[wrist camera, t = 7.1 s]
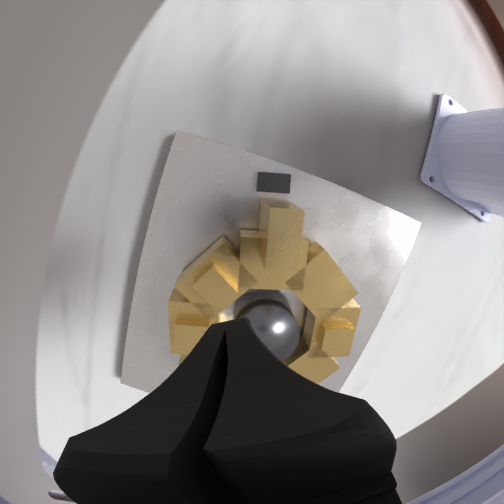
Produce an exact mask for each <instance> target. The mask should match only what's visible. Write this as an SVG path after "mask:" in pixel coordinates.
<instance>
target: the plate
mask: <svg viewBox="0 0 504 504" xmlns="http://www.w3.org/2000/svg"><path fill="white" fill-rule="evenodd" d="M261 198H265V199H278V200H288V201H289V202H291V203H293V204H295V205H297V206H298V207H300V208H302V209H304V210H305V215H304V224H303V233H302V235H303V236H304V237H305V238H307V239H308V240H309V246H311V245H312V244H313V243H314V242H315V241H316V242H317V243H319V244H320V245H321V246H322V247H323V248H324V249H325V250H326V251H327V252H328V254H329V255H330V256H331V258H332V259H333V260H334V261H335V263H336V264H337V265H338V267H339V268H340V269H341V271H342V272H343V273H344V275H345V276H346V277H347V279H348V280H349V281H350V283H351V284H352V285H353V287H354V288H355V289H356V291H357V292H358V294H357V295H356V296H355V297H354V298H353V299H354V300H355V301H356V302H357V303H358V305H359V306H360V307H361V311H360V315H359V319H358V323H357V327H356V331H355V335H354V339H353V343H352V347H351V350H350V354H349V356H345V357H335V359H336V361H337V362H338V364H339V366H340V368H339V369H338V370H337V371H335V372H334V373H333V374H331V375H330V376H328V377H327V378H326V379H324V380H323V381H321V382H320V383H319V384H318V385H320V386H322V387H325V388H327V389H329V390H332V391H335V392H339V391H340V389H341V387H342V386H343V384H344V382H345V381H346V379H347V378H348V376H349V374H350V373H351V371H352V369H353V368H354V366H355V364H356V362H357V361H358V359H359V357H360V355H361V354H362V352H363V350H364V348H365V346H366V345H367V343H368V341H369V339H370V337H371V335H372V333H373V332H374V330H375V328H376V326H377V324H378V322H379V320H380V318H381V316H382V314H383V312H384V310H385V308H386V306H387V304H388V302H389V299H390V297H391V295H392V293H393V291H394V289H395V287H396V284H397V282H398V280H399V278H400V275H401V273H402V271H403V268H404V266H405V264H406V261H407V259H408V256H409V254H410V251H411V249H412V246H413V244H414V241H415V238H416V236H417V233H418V230H419V228H420V225H421V223H420V222H418V221H416V220H414V219H412V218H410V217H408V216H406V215H404V214H402V213H400V212H397V211H395V210H393V209H391V208H389V207H387V206H385V205H383V204H380V203H378V202H376V201H374V200H372V199H369V198H367V197H365V196H363V195H360V194H358V193H356V192H353V191H351V190H349V189H346V188H344V187H342V186H339V185H337V184H334V183H332V182H330V181H327V180H325V179H322V178H320V177H317V176H315V175H312V174H309V173H307V172H304V171H302V170H299V169H296V168H294V167H291V166H288V165H285V164H283V163H280V162H277V161H274V160H271V159H269V158H266V157H263V156H260V155H257V154H254V153H251V152H248V151H245V150H242V149H239V148H236V147H233V146H229V145H226V144H223V143H220V142H216V141H213V140H210V139H206V138H203V137H199V136H196V135H192V134H189V133H185V132H181V131H178V130H177V131H176V133H175V136H174V139H173V142H172V145H171V148H170V151H169V154H168V158H167V161H166V164H165V167H164V170H163V174H162V177H161V180H160V184H159V187H158V191H157V194H156V198H155V201H154V205H153V209H152V213H151V216H150V220H149V224H148V228H147V232H146V236H145V241H144V245H143V249H142V254H141V258H140V263H139V267H138V272H137V277H136V282H135V287H134V293H133V298H132V304H131V309H130V315H129V321H128V328H127V334H126V341H125V349H124V356H123V365H122V374H121V383H122V384H125V385H128V386H131V387H134V388H137V389H140V390H143V391H146V392H149V393H151V392H152V391H153V390H155V389H156V388H157V387H158V386H159V385H160V384H161V383H163V382H164V381H165V380H166V379H167V378H168V377H169V376H170V375H171V374H172V373H173V372H174V371H175V370H176V368H177V367H178V363H179V359H180V355H181V354H171V350H170V335H169V317H168V300H169V298H170V295H171V293H172V291H173V289H174V288H175V289H177V288H176V287H175V283H176V281H177V279H178V277H179V275H180V274H181V273H182V272H183V271H184V270H185V269H186V268H188V267H189V266H190V265H191V264H192V263H193V262H194V261H195V260H196V259H198V258H199V257H200V256H201V255H202V254H203V253H204V252H205V251H207V250H208V249H209V248H210V247H211V246H212V245H213V244H214V243H216V242H217V241H218V240H219V239H220V238H221V237H222V236H225V238H226V239H227V240H228V241H229V242H230V243H231V244H232V245H233V246H234V247H235V248H236V250H237V251H238V252H239V242H240V230H254V231H258V229H259V216H260V204H261ZM307 309H308V308H307V307H306V306H305V305H304V303H303V302H302V301H301V300H300V299H299V298H298V297H297V296H296V295H295V293H294V292H293V291H292V290H268V289H249V290H247V291H246V292H245V293H244V294H242V295H241V296H240V297H239V298H237V299H236V300H235V301H234V302H233V303H231V304H230V305H229V306H228V307H226V308H225V309H224V310H223V311H221V312H220V313H219V316H218V323H220V322H224V321H229V320H233V319H238V318H242V317H247V318H248V319H249V320H250V323H251V327H252V328H253V330H254V332H255V333H256V335H257V336H258V337H259V339H260V340H261V341H262V342H263V344H264V345H265V346H266V347H267V348H268V349H269V350H270V351H271V352H272V353H273V354H274V355H275V356H276V357H277V358H278V359H279V360H281V361H283V360H284V359H286V358H288V357H289V356H290V355H291V354H292V353H293V352H294V350H295V349H296V347H297V345H298V343H299V339H300V337H301V336H302V335H303V333H304V327H305V321H306V315H307Z"/></svg>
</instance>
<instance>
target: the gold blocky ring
mask: <svg viewBox="0 0 504 504" xmlns="http://www.w3.org/2000/svg"><path fill="white" fill-rule="evenodd" d="M304 215H305V210H304V209H302V208H300V207H298V206H297V205H295V204H293V203H291V202H289V201H288V200H278V199H265V198H261V204H260V216H259V229H258V231H254V230H240V242H239V252H238V251H237V250H236V248H235V247H234V246H233V245H232V244H231V243H230V242H229V241H228V240H227V239H226V238H225V236H222V237H221V238H220V239H219V240H218V241H217V242H216V243H214V244H213V245H212V246H211V247H210V248H209V249H208V250H207V251H205V252H204V253H203V254H202V255H201V256H200V257H199V258H198V259H196V260H195V261H194V262H193V263H192V264H191V265H190V266H189V267H188V268H186V269H185V270H184V271H183V272H182V273H181V274H180V275H179V277H178V279H177V281H176V283H175V287H176V288H177V289H175V288H174V289H173V291H172V293H171V295H170V298H169V300H168V317H169V335H170V350H171V354H181V355H180V359H179V363H178V366H179V365H180V364H181V363H182V361H183V360H184V359H185V358H186V357H187V356H188V355H189V353H190V352H191V351H192V349H193V348H194V347H195V345H196V344H197V343H198V342H199V340H200V339H201V337H202V336H203V335H204V333H205V332H206V331H207V329H208V328H209V327H210V325H211V324H215V323H218V316H219V313H220V312H221V311H223V310H224V309H225V308H226V307H228V306H229V305H230V304H231V303H233V302H234V301H235V300H236V299H237V298H239V297H240V296H241V295H242V294H244V293H245V292H246V291H247V290H249V289H268V290H292V291H293V292H294V293H295V295H296V296H297V297H298V298H299V299H300V300H301V301H302V302H303V303H304V305H305V306H306V307H307V308H308V309H307V315H306V321H305V327H304V333H303V335H302V336H301V337H300V339H299V343H298V345H297V347H296V349H295V350H294V352H293V353H292V354H291V355H290V356H289V357H288V358H286V359H284V360H283V361H282V362H283V363H284V364H286V365H287V366H288V367H290V368H291V369H292V370H294V371H295V372H297V373H298V374H300V375H301V376H303V377H305V378H307V379H309V380H311V381H313V382H315V383H316V384H319V383H320V382H321V381H323V380H324V379H326V378H327V377H328V376H330V375H331V374H333V373H334V372H335V371H337V370H338V369H339V368H340V366H339V364H338V362H337V361H336V359H335V357H345V356H349V354H350V350H351V347H352V343H353V339H354V335H355V331H356V327H357V323H358V319H359V315H360V311H361V307H360V306H359V305H358V303H357V302H356V301H355V300H354V299H353V298H354V297H355V296H356V295H357V294H358V292H357V291H356V289H355V288H354V287H353V285H352V284H351V283H350V281H349V280H348V279H347V277H346V276H345V275H344V273H343V272H342V271H341V269H340V268H339V267H338V265H337V264H336V263H335V261H334V260H333V259H332V258H331V256H330V255H329V254H328V252H327V251H326V250H325V249H324V248H323V247H322V246H321V245H320V244H319V243H317V242H316V241H315V242H314V243H313V244H312V245H311V246H309V240H308V239H307V238H305V237H304V236H303V235H302V233H303V224H304Z"/></svg>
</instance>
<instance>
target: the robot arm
mask: <svg viewBox="0 0 504 504" xmlns="http://www.w3.org/2000/svg"><path fill="white" fill-rule="evenodd" d="M448 101H449V102H450V105H449V103H448ZM430 177H431V178H432V181H431V182H430ZM420 178H421V181H422V182H423V183H425V184H427V185H428V186H430V187H432V188H433V189H435V190H437V191H438V192H440V193H442V194H443V195H445V196H446V197H448V198H450V199H451V200H453V201H454V202H456V203H457V204H459V205H460V206H462V207H463V208H465V209H466V210H468V211H469V212H471V213H472V214H474V215H475V216H477V217H478V218H479V219H481V220H482V221H484V222H486V223H488V222H489V221H490V219H491V216H492V214H496V215H500V216H503V217H504V108H498V109H490V110H482V111H474V112H468V111H467V110H466V109H465V108H463V107H462V106H461V105H460V104H458V103H457V102H456V101H455V100H453V99H452V98H451V97H449V96H448V95H447V94H441V95H440V97H439V102H438V107H437V112H436V116H435V121H434V125H433V129H432V133H431V138H430V141H429V145H428V149H427V153H426V157H425V160H424V164H423V167H422V171H421V174H420ZM395 453H396V439H395V438H394V435H393V433H392V432H391V430H390V428H389V427H388V426H387V424H386V423H385V422H384V420H383V419H382V418H381V417H380V416H379V414H378V413H377V412H376V411H375V410H374V409H373V408H372V407H371V406H370V405H369V404H368V402H367V401H365V400H363V399H360V398H356V397H352V396H349V395H345V394H342V393H338V392H335V391H332V390H329V389H327V388H325V387H322V386H320V385H318V384H316V383H315V382H313V381H311V380H309V379H307V378H305V377H303V376H301V375H300V374H298V373H297V372H295V371H294V370H292V369H291V368H290V367H288V366H287V365H286V364H284V363H283V362H282V361H281V360H279V359H278V358H277V357H276V356H275V355H274V354H273V353H272V352H271V351H270V350H269V349H268V348H267V347H266V346H265V345H264V344H263V342H262V341H261V340H260V339H259V337H258V336H257V335H256V333H255V332H254V330H253V328H252V327H251V323H250V320H249V319H248V318H247V317H242V318H238V319H233V320H229V321H224V322H220V323H215V324H211V325H210V327H209V328H208V329H207V331H206V332H205V333H204V335H203V336H202V337H201V339H200V340H199V342H198V343H197V344H196V345H195V347H194V348H193V349H192V351H191V352H190V353H189V355H188V356H187V357H186V358H185V359H184V360H183V361H182V363H181V364H180V365H179V366H178V367H177V368H176V370H175V371H174V372H173V373H172V374H171V375H170V376H169V377H168V378H167V379H166V380H165V381H164V382H163V383H161V384H160V385H159V386H158V387H157V388H156V389H155V390H153V391H152V392H151V393H150V394H148V395H147V396H146V397H144V398H143V399H142V400H140V401H139V402H138V403H136V404H135V405H133V406H132V407H131V408H129V409H127V410H126V411H124V412H123V413H121V414H119V415H118V416H116V417H114V418H112V419H110V420H109V421H107V422H105V423H103V424H101V425H99V426H97V427H94V428H92V429H90V430H87V431H85V432H82V433H80V434H78V435H75V436H72V437H70V438H69V439H68V442H67V444H66V446H65V448H64V450H63V452H62V454H61V457H60V459H59V461H58V463H57V465H56V468H55V470H54V472H53V476H54V480H55V481H56V483H57V485H58V486H59V487H60V489H61V490H62V491H63V492H64V493H65V494H66V495H67V496H68V497H70V498H71V499H72V500H73V501H75V502H76V503H77V504H402V503H401V500H400V498H399V496H398V494H397V491H396V489H395V488H396V486H397V483H396V480H395V478H394V476H393V474H392V472H391V470H392V466H393V462H394V458H395ZM0 504H12V503H10V502H8V501H6V499H5V498H4V497H3V496H2V495H1V494H0ZM405 504H504V445H502V446H501V447H500V448H498V449H497V450H496V451H494V452H493V453H492V454H490V455H489V456H488V457H486V458H485V459H483V460H482V461H480V462H479V463H477V464H476V465H474V466H473V467H471V468H470V469H468V470H467V471H465V472H464V473H462V474H460V475H459V476H457V477H455V478H454V479H452V480H450V481H449V482H447V483H445V484H443V485H441V486H440V487H438V488H436V489H434V490H432V491H430V492H428V493H426V494H424V495H422V496H420V497H418V498H416V499H414V500H412V501H410V502H408V503H405Z"/></svg>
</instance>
